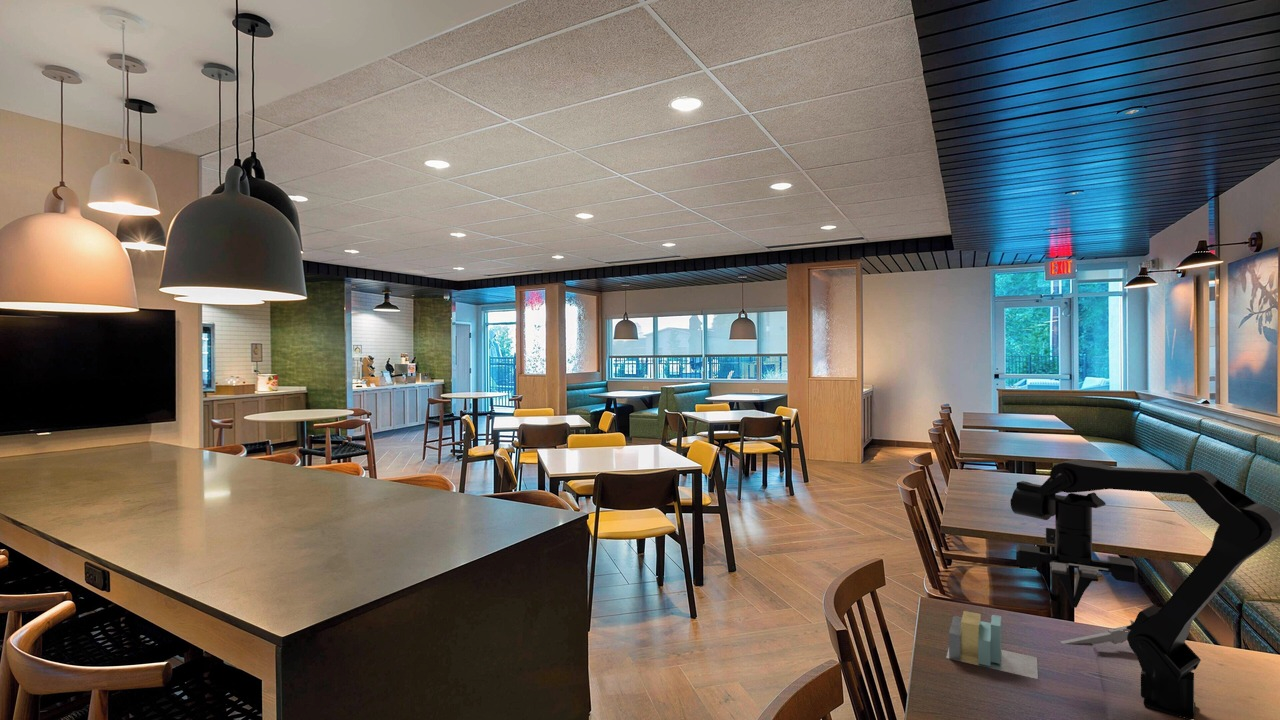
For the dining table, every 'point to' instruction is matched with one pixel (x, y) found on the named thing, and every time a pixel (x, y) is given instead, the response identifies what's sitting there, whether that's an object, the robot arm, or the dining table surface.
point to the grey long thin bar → (1103, 637)
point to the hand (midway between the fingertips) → (1073, 606)
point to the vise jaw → (990, 642)
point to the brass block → (970, 635)
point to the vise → (1008, 662)
